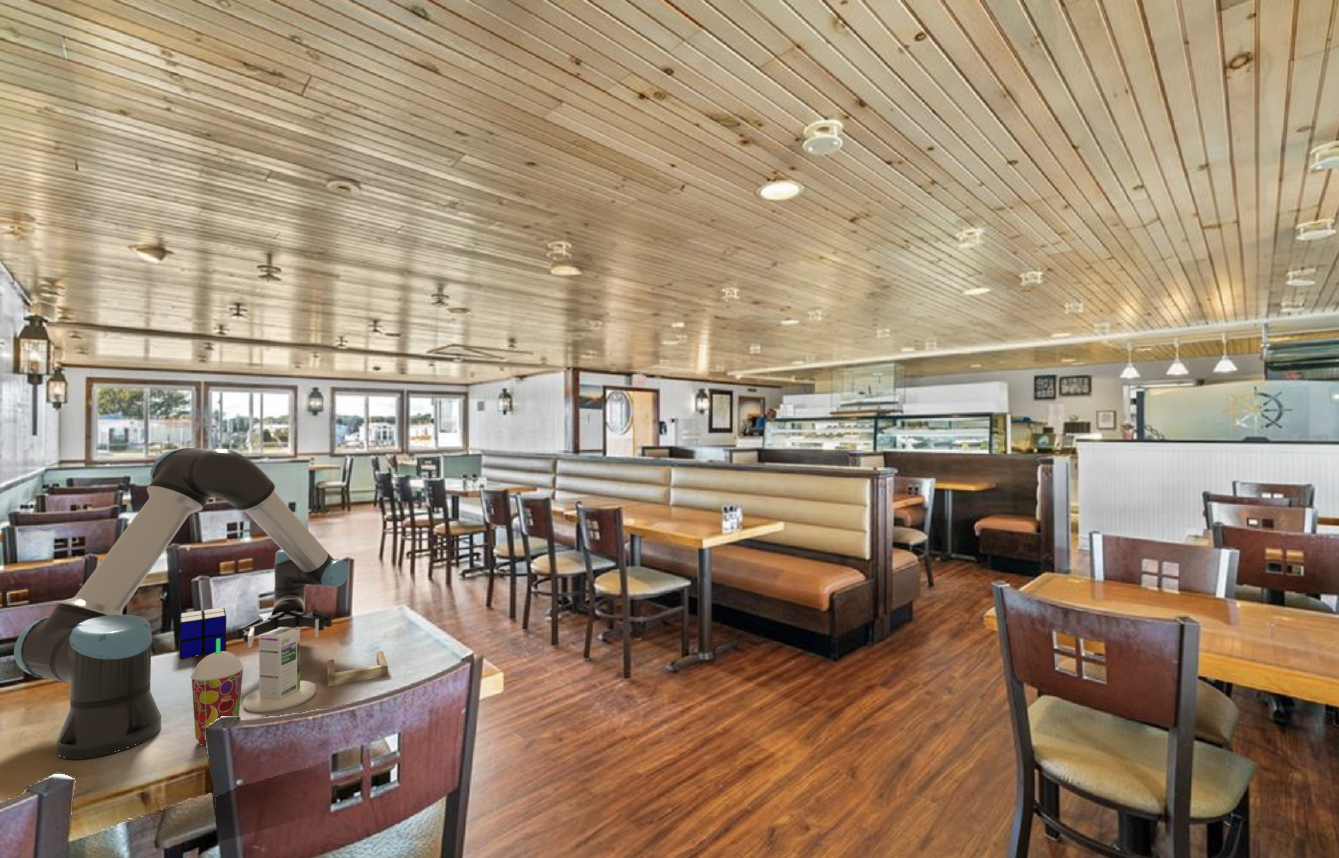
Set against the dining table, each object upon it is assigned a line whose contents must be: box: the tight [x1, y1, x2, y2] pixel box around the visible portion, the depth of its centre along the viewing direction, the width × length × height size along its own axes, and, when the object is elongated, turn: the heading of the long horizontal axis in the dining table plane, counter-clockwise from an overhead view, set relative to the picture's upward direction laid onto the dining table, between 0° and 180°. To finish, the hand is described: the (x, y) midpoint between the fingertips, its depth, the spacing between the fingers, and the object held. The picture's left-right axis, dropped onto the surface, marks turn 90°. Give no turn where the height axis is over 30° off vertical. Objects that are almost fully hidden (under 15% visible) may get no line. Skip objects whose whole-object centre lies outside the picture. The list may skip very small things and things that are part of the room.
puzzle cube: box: [178, 607, 227, 660], centre depth 165 cm, size 10×10×10 cm
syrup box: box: [258, 627, 301, 700], centre depth 137 cm, size 6×6×14 cm
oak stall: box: [326, 650, 389, 688], centre depth 151 cm, size 13×12×2 cm
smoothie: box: [190, 638, 244, 747], centre depth 119 cm, size 8×8×20 cm
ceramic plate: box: [242, 680, 317, 713], centre depth 137 cm, size 14×14×1 cm
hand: (284, 636), depth 143 cm, fingers open, 13 cm apart
